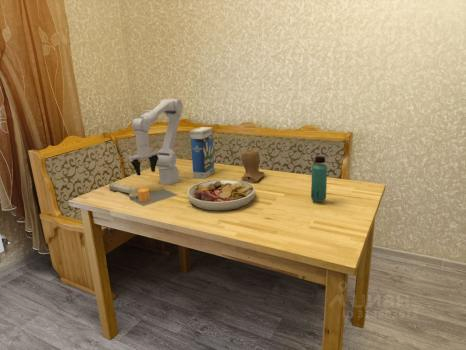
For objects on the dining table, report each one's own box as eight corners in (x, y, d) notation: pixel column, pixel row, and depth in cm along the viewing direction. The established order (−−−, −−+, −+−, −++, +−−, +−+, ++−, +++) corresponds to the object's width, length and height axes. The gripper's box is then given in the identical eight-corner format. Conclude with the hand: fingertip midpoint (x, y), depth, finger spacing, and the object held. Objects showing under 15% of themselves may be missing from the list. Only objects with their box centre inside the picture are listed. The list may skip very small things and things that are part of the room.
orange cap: (148, 197, 153) (147, 187, 152) (151, 200, 149) (150, 190, 147) (137, 199, 151) (136, 188, 149) (140, 203, 147) (138, 192, 145)
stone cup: (246, 173, 187) (245, 147, 182) (266, 175, 182) (266, 148, 178) (235, 181, 173) (234, 153, 169) (257, 184, 169) (257, 155, 164)
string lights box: (205, 178, 180) (202, 131, 172) (192, 177, 182) (189, 130, 175) (215, 171, 191) (212, 127, 184) (203, 170, 194) (200, 126, 186)
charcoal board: (163, 190, 164) (162, 182, 162) (178, 196, 155) (177, 187, 154) (129, 201, 152) (128, 192, 150) (143, 208, 143) (142, 198, 142)
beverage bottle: (326, 199, 146) (329, 155, 140) (325, 205, 140) (327, 159, 134) (311, 198, 148) (313, 154, 142) (309, 204, 142) (311, 158, 136)
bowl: (209, 185, 170) (208, 170, 167) (264, 193, 157) (264, 177, 154) (174, 207, 144) (173, 190, 142) (237, 218, 131) (237, 199, 129)
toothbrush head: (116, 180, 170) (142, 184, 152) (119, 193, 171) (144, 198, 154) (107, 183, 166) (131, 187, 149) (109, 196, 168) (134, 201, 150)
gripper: (152, 141, 161) (154, 168, 165) (124, 146, 151) (127, 175, 155) (160, 143, 156) (162, 171, 160) (131, 148, 146) (135, 178, 150)
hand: (146, 173), depth 157 cm, fingers open, 7 cm apart
